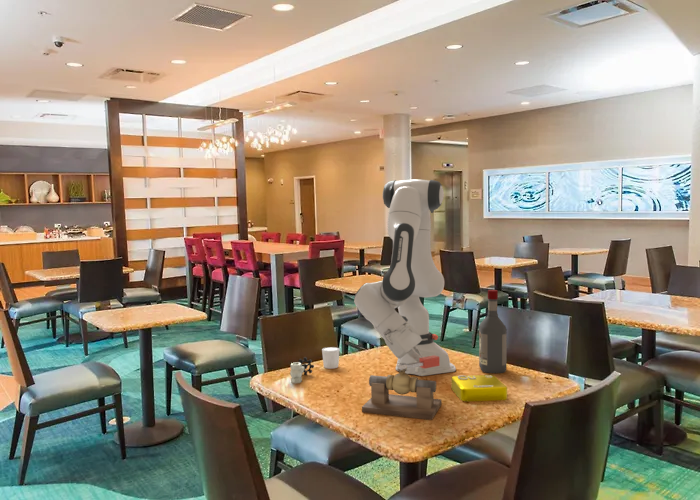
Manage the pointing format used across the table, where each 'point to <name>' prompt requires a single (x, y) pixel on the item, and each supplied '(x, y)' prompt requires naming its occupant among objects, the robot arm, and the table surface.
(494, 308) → the liquor
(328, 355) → the white cylinder
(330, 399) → the table surface
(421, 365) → the valve lever
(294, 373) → the valve
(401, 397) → the valve stand
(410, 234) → the robot arm
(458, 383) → the element tile
